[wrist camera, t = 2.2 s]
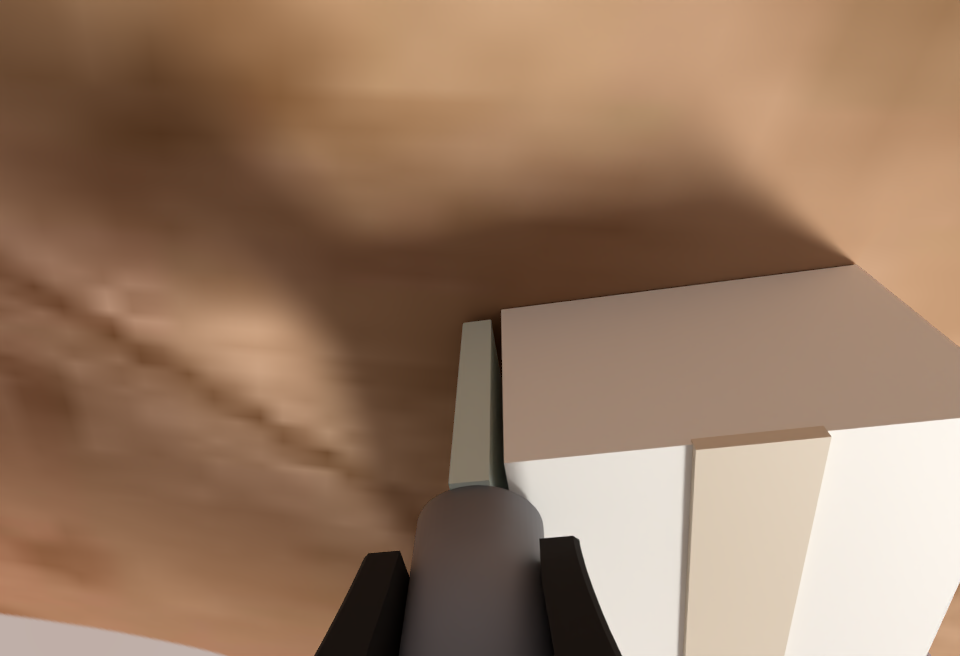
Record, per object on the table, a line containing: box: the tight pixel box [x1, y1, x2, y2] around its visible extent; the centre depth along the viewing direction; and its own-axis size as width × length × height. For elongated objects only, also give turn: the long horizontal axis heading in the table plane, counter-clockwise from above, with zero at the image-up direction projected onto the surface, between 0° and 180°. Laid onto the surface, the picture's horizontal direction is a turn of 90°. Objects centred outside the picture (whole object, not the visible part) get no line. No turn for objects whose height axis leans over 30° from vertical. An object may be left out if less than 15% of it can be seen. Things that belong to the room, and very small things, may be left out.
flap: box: [399, 319, 555, 656], centre depth 16 cm, size 14×3×10 cm, turn 9°
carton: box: [501, 265, 960, 656], centre depth 17 cm, size 14×10×6 cm
